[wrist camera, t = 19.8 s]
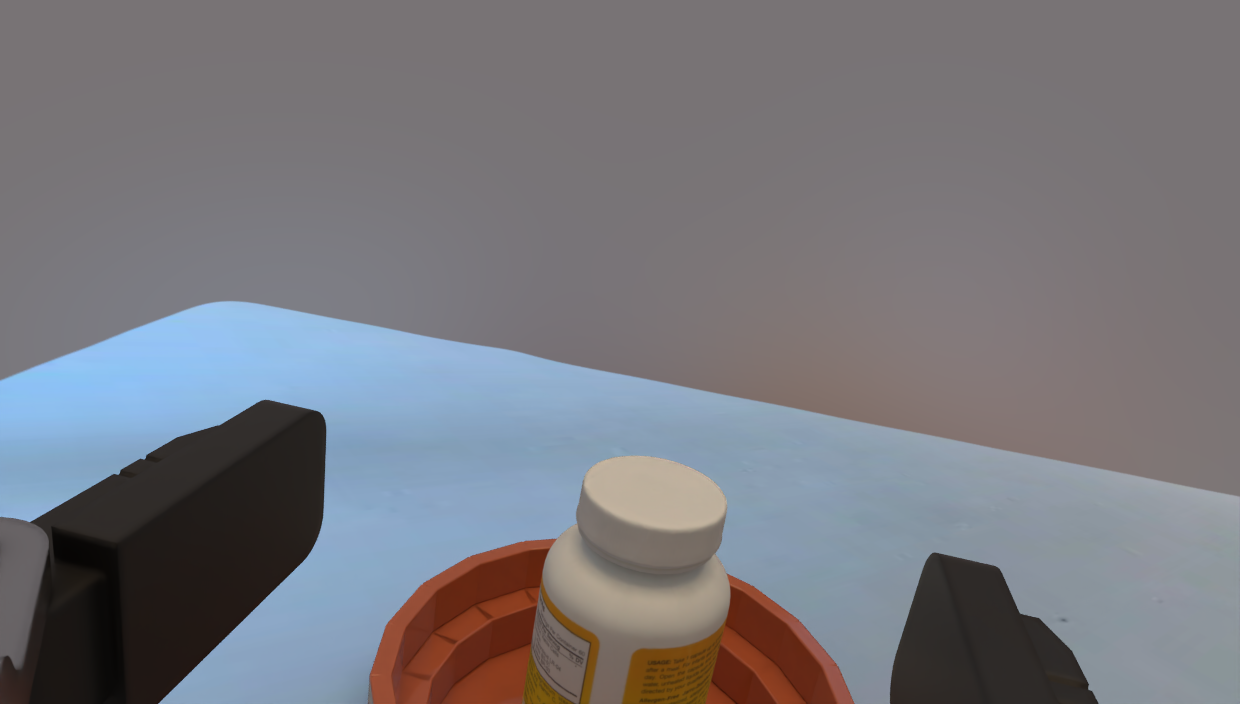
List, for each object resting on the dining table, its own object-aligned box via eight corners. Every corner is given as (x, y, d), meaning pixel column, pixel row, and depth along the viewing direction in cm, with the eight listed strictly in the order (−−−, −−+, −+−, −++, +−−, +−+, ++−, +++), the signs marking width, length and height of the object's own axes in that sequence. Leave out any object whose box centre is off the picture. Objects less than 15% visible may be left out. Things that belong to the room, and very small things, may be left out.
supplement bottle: (488, 804, 24) (528, 509, 21) (544, 681, 29) (583, 428, 26) (673, 863, 23) (744, 564, 20) (697, 724, 28) (757, 469, 25)
